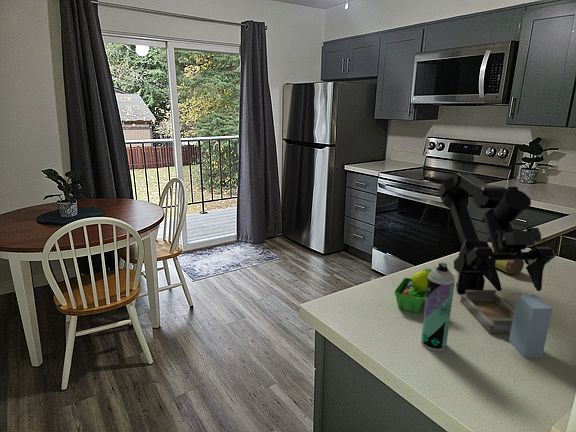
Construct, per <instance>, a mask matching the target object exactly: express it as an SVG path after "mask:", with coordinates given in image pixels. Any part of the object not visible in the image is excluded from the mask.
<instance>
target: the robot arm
mask: <svg viewBox="0 0 576 432" xmlns="http://www.w3.org/2000/svg"><path fill="white" fill-rule="evenodd" d="M469 195H470V196H471V197H473V199H472V201H473V202H472V203H474V205H476V207H477V209H483V210H484V209H486V210H487V212H484V214H483V217H482V218H481V223H483V224H485V225H486V229H487V232H488V235H489V237H488V238H487V240H486V241H485V240H484V241H483V240H480V239H479V237H478V234H477V231H476V228H475V225H474V222H473V219H472V217H471V214H470V211H469V208H468V206H467V203H466V202H467V200H468V198H469ZM438 198H440V200H441V203H442V204H443V205H444V206H445V207H446V208H448V209H449V210H450V213H451V216H452V219H453V222H454V226H455V228H456V232H457V235H458V239H459V241H460V244H461V247H460V251H459V253H458V257H456V258H455V259H454V261H453V269H454V270H455V271H456V272H457V273H458V274H457V275H458V276H457V282H456V285H455V286H456V292H457V294H458V295H459V294H461V295H465V290H485V283H486V282H485V281H486V279H487V281H489V283H490V284H491V286H493V287H494V288H495V289H496V292H501V291H502V290H503V289H502V285H501V284H502V283H501V281H500V278H499V275H498V274H499V273H498V271H497V268H496V267H495V263H496V260H523V261H524V264H526V265H527V266H525V269H526V271H527V273H528V275H529V278H530V280H531V282H532V285H533V286H534V288H535V290H536V291H537V292H540V291H542V287H543V276H544V275H543V274H544V273H543V272H544V268H545V265H546V264H548V263H549V262H551V260H553V259H554V258H556V254H555V252H554V250H553V248H551V247H549V246H534V245H535V244H536V242H541V241H542V233H541V231H540V229H539V227H528V228H526V230H519V229H518V228H515V227H514V225H513V222H515V221H516V220H517V219H519V218H520V216H522V215H523V214H524V213H525V212H526V211H527V210H528V209H529V208H530V207H531V204H532V201H531V200H532V199H531V198H530V197H529V196H528V195H527V194H526V193H525V192H524V191H521V190H519V188H518V186H508V187H507V188H506V187H504V186H501V185H493V184H487V183H486V182H484V181H483V180H482V179H479V178H478V177H476V176H474V174H473V173H471V172H456V173H454V175H453V176H452V177H450V178H448V179H446V180H444V181H443V182H442V183H441V185H440V186H439V188H438ZM488 209H489V210H488ZM490 243H491V246H493V250H494V252H493V251H492V249H491V248H490V247H489V246H490V245H489V244H490ZM529 245H531V246H534V247H533V248H531V249H530V250H528V251H522V250H526V249H527V248H528V247H527V246H529Z"/></svg>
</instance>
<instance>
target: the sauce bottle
mask: <svg viewBox="0 0 576 432" xmlns="http://www.w3.org/2000/svg"><path fill="white" fill-rule="evenodd" d="M489 247H490V248H491V249H492V251H493V252H494V250H493V246H492V244H491V245H489ZM524 264H525V261H524V260H496V263H495V267H496V269H499V270H501V271H503V272H504V273H507V274H510V275H512V276H516V275H519V274H520V273H521V272H522V271H523V269H524V266H525V265H524Z"/></svg>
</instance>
